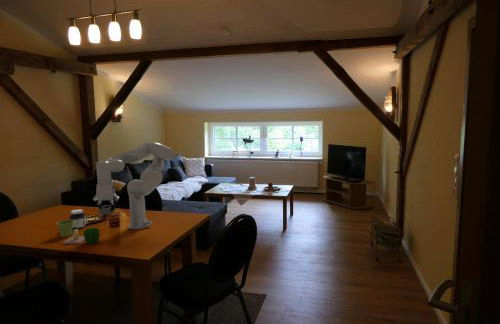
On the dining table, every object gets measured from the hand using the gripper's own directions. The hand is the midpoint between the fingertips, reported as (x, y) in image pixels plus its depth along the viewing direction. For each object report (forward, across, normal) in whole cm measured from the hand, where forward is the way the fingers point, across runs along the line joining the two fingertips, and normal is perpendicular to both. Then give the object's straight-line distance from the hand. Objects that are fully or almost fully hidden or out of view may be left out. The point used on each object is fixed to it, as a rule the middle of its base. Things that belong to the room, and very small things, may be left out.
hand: (107, 210), depth 199 cm
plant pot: (+16, +27, 0) cm, 31 cm away
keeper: (+15, +16, +9) cm, 24 cm away
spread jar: (+16, +29, -16) cm, 37 cm away
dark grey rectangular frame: (+1, 0, 0) cm, 1 cm away
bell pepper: (+16, +5, +12) cm, 20 cm away
